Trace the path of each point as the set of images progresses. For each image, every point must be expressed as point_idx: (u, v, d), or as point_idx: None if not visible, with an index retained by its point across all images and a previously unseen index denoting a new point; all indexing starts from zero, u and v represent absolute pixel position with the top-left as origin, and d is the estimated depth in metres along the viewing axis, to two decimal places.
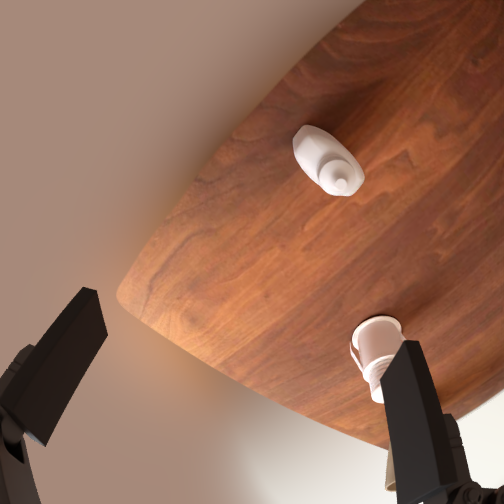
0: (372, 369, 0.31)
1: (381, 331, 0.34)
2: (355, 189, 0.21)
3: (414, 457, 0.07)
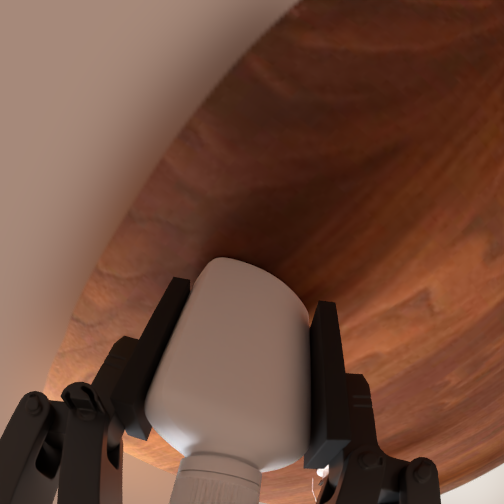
0: None
1: None
2: None
3: (315, 412, 0.09)
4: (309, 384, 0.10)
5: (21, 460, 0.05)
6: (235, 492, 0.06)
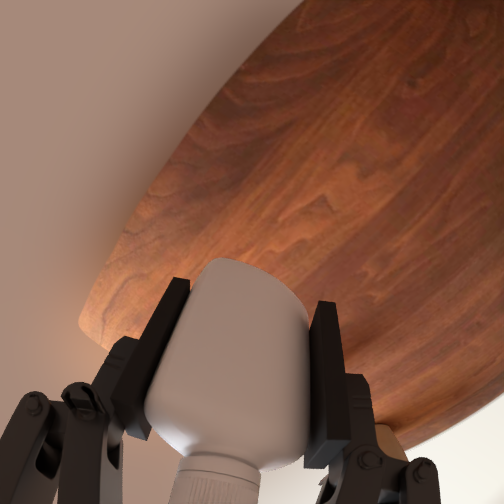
0: None
1: None
2: None
3: (315, 412, 0.09)
4: (308, 384, 0.10)
5: (21, 460, 0.05)
6: (234, 492, 0.06)
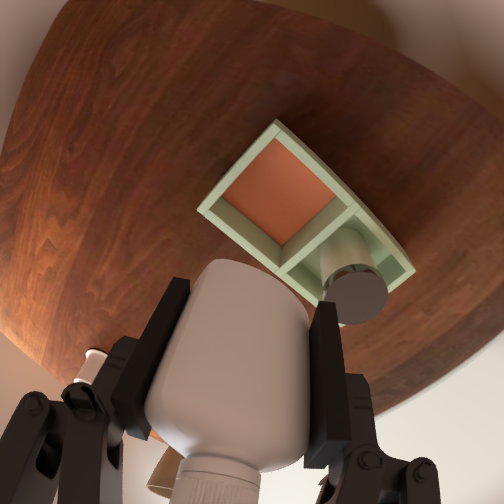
0: None
1: (89, 361, 0.42)
2: None
3: (315, 412, 0.09)
4: (308, 385, 0.10)
5: (21, 460, 0.05)
6: (234, 493, 0.06)
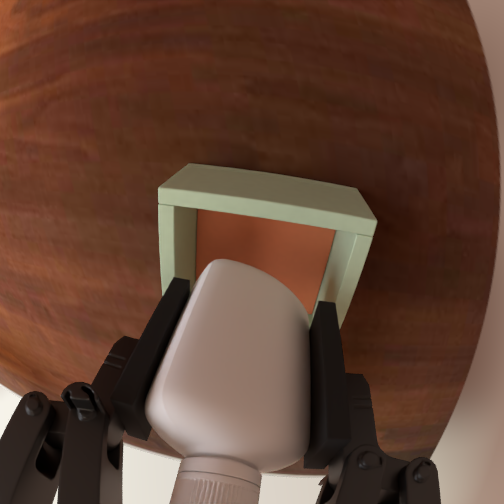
0: None
1: None
2: None
3: (315, 412, 0.09)
4: (309, 385, 0.10)
5: (21, 460, 0.05)
6: (235, 493, 0.06)
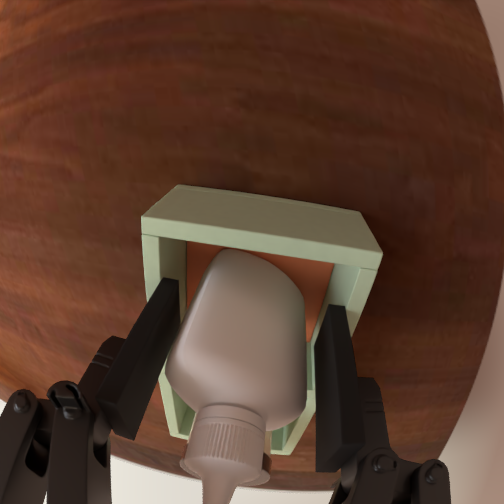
0: None
1: None
2: (284, 425, 0.10)
3: (328, 416, 0.09)
4: (305, 354, 0.13)
5: (11, 457, 0.05)
6: (244, 435, 0.08)
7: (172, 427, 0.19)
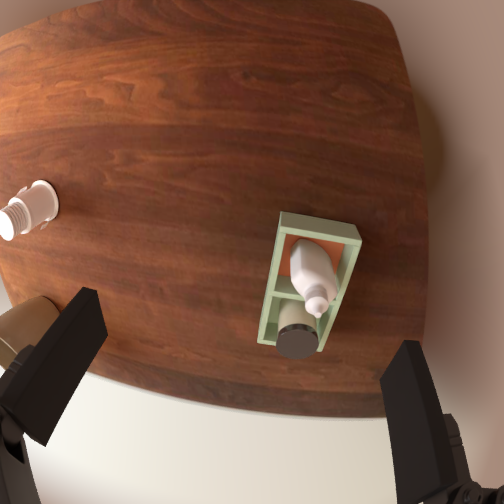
0: (11, 203, 0.33)
1: (39, 192, 0.36)
2: (330, 301, 0.33)
3: (414, 457, 0.07)
4: None
5: None
6: (323, 292, 0.30)
7: (260, 334, 0.41)
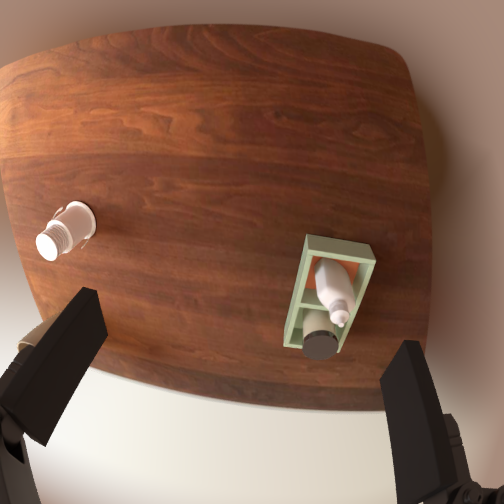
0: (51, 225, 0.39)
1: (78, 214, 0.42)
2: (349, 312, 0.38)
3: (414, 457, 0.07)
4: (352, 291, 0.40)
5: None
6: (345, 306, 0.35)
7: (287, 339, 0.47)
